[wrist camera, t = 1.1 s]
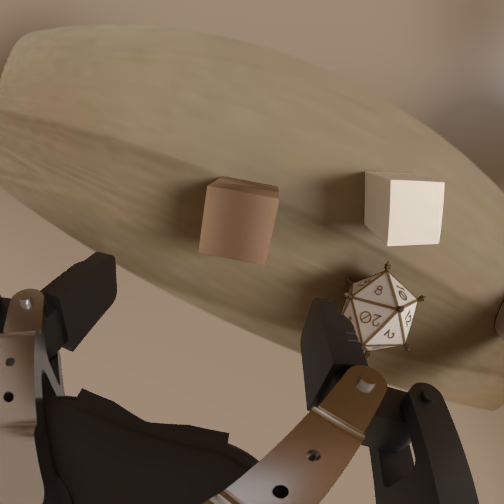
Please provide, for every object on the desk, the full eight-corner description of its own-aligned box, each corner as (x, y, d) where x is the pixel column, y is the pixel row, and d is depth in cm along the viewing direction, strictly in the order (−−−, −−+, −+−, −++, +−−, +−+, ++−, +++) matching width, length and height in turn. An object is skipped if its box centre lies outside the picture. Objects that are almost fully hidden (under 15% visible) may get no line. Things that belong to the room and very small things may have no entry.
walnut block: (277, 186, 24) (279, 199, 18) (266, 239, 26) (265, 265, 20) (222, 176, 24) (207, 185, 18) (214, 228, 26) (198, 252, 20)
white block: (411, 172, 22) (444, 182, 17) (408, 222, 24) (438, 243, 19) (364, 171, 23) (390, 179, 17) (364, 224, 25) (387, 246, 19)
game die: (345, 288, 31) (304, 351, 25) (367, 231, 26) (325, 297, 19) (409, 321, 28) (380, 393, 21) (444, 271, 22) (427, 352, 16)
